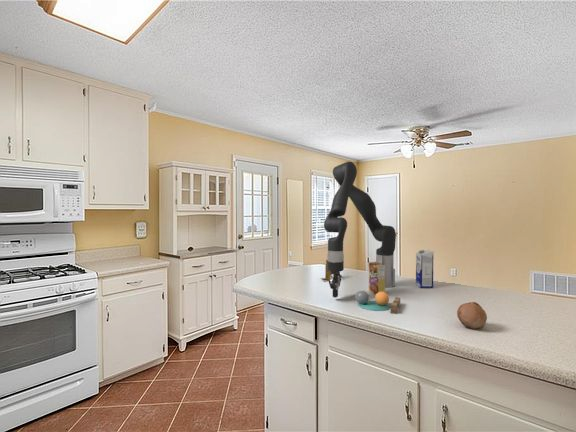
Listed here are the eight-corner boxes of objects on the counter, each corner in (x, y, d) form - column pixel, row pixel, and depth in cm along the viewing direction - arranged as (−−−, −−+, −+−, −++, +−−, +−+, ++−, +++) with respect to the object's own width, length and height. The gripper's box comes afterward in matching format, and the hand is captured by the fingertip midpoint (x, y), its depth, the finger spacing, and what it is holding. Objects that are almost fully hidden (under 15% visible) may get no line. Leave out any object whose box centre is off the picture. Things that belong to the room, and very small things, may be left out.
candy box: (368, 291, 165) (368, 261, 165) (375, 290, 167) (375, 261, 166) (377, 296, 157) (378, 265, 156) (385, 295, 158) (385, 264, 158)
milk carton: (433, 288, 171) (433, 251, 171) (420, 288, 171) (421, 251, 171) (427, 285, 178) (428, 249, 178) (415, 284, 179) (416, 249, 178)
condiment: (337, 281, 188) (337, 260, 187) (323, 281, 187) (323, 261, 186) (334, 278, 195) (334, 258, 195) (320, 278, 194) (320, 259, 193)
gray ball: (370, 293, 147) (357, 295, 149) (366, 287, 143) (353, 289, 145) (371, 305, 142) (358, 307, 145) (367, 299, 139) (353, 301, 141)
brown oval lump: (473, 332, 120) (479, 306, 122) (489, 335, 110) (495, 307, 113) (449, 322, 120) (455, 296, 122) (463, 324, 111) (469, 297, 113)
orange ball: (389, 299, 145) (377, 292, 147) (392, 294, 140) (379, 286, 142) (384, 310, 142) (371, 302, 144) (386, 305, 137) (373, 297, 139)
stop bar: (395, 303, 144) (395, 297, 144) (400, 304, 143) (400, 297, 143) (390, 313, 132) (390, 305, 132) (395, 313, 131) (395, 306, 131)
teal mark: (380, 299, 150) (380, 299, 150) (397, 309, 136) (397, 308, 136) (352, 302, 147) (352, 301, 147) (367, 311, 133) (367, 311, 133)
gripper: (332, 257, 157) (332, 292, 157) (322, 261, 145) (322, 299, 145) (347, 258, 153) (347, 294, 154) (338, 263, 141) (338, 301, 142)
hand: (335, 297), depth 150 cm, fingers closed
